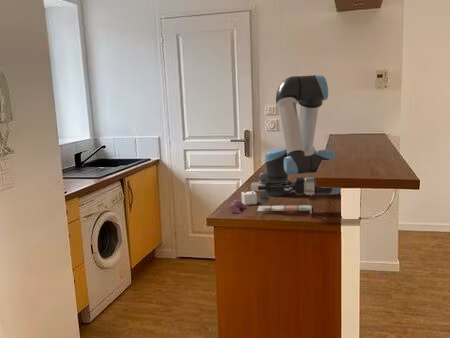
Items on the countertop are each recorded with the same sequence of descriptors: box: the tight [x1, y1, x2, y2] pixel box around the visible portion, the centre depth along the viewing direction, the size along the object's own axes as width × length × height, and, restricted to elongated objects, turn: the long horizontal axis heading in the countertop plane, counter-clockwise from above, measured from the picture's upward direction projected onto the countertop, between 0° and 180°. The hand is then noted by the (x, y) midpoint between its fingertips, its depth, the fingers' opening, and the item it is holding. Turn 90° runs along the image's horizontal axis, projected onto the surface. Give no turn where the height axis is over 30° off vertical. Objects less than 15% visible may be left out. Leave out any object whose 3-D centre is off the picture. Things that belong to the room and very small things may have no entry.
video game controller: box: [228, 199, 248, 214], centre depth 204 cm, size 10×5×7 cm, turn 158°
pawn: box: [257, 172, 270, 204], centre depth 203 cm, size 5×5×13 cm
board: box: [256, 204, 313, 214], centre depth 203 cm, size 10×24×1 cm, turn 81°
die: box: [241, 190, 258, 206], centre depth 217 cm, size 6×6×6 cm
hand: (251, 186), depth 204 cm, fingers closed on pawn, 3 cm apart
